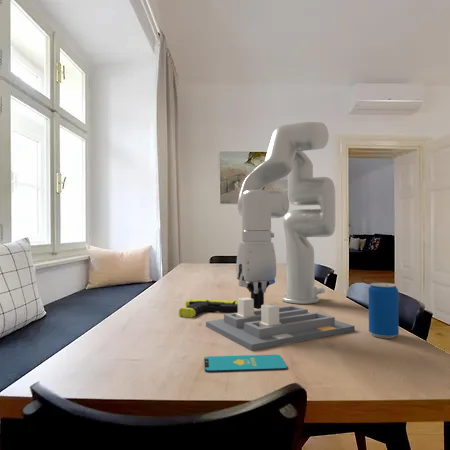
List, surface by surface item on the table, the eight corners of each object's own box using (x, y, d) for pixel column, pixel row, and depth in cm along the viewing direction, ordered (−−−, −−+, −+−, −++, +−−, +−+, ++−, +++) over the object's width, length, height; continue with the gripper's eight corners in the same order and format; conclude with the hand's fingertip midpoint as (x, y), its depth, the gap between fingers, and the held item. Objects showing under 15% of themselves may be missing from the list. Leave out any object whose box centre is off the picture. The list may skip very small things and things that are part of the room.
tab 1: (249, 319, 98) (248, 297, 98) (255, 321, 95) (255, 299, 95) (235, 321, 96) (235, 298, 96) (242, 323, 93) (242, 300, 93)
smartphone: (288, 367, 67) (204, 369, 66) (288, 371, 67) (204, 374, 66) (279, 354, 74) (204, 356, 73) (279, 358, 74) (204, 360, 73)
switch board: (297, 312, 111) (296, 302, 111) (354, 330, 92) (354, 317, 92) (205, 326, 97) (205, 313, 97) (251, 350, 78) (251, 335, 78)
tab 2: (273, 327, 90) (273, 303, 90) (281, 330, 87) (281, 305, 87) (259, 329, 88) (259, 305, 88) (267, 333, 85) (266, 307, 85)
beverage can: (398, 333, 90) (398, 283, 90) (398, 340, 84) (398, 287, 84) (369, 330, 92) (369, 281, 92) (367, 337, 87) (367, 285, 87)
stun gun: (241, 310, 104) (246, 300, 119) (175, 308, 107) (188, 298, 122) (241, 321, 104) (246, 309, 119) (175, 318, 107) (188, 307, 122)
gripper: (271, 236, 104) (272, 302, 104) (224, 237, 97) (225, 308, 97) (288, 237, 98) (289, 307, 98) (239, 238, 90) (240, 314, 91)
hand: (257, 307), depth 97 cm, fingers closed
